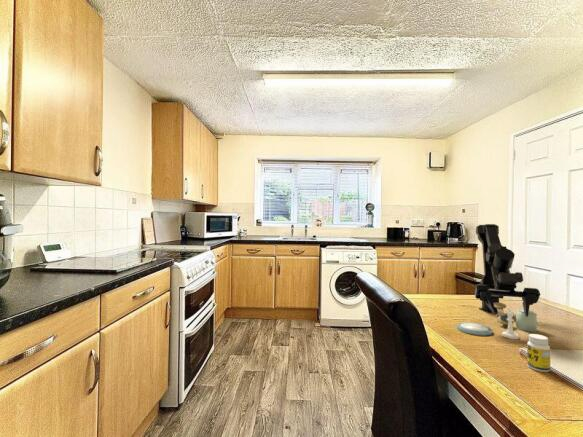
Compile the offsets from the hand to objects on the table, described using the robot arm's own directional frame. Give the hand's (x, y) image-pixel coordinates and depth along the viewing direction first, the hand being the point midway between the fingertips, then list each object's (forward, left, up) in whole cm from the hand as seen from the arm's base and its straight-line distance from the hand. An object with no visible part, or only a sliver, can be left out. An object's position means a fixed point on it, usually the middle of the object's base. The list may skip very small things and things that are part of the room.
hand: (510, 314), depth 104 cm
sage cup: (-6, +12, -7) cm, 16 cm away
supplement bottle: (+22, -12, -8) cm, 26 cm away
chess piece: (0, 0, -8) cm, 8 cm away
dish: (-7, -8, -7) cm, 13 cm away
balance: (-15, +10, -7) cm, 20 cm away
